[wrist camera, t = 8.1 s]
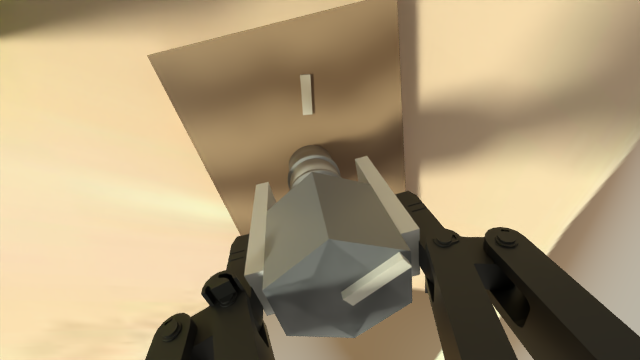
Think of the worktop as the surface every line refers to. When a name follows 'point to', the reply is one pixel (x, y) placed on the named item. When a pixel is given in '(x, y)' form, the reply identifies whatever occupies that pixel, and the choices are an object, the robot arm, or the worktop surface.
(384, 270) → the knob
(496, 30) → the worktop surface
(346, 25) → the wooden board with bolt
